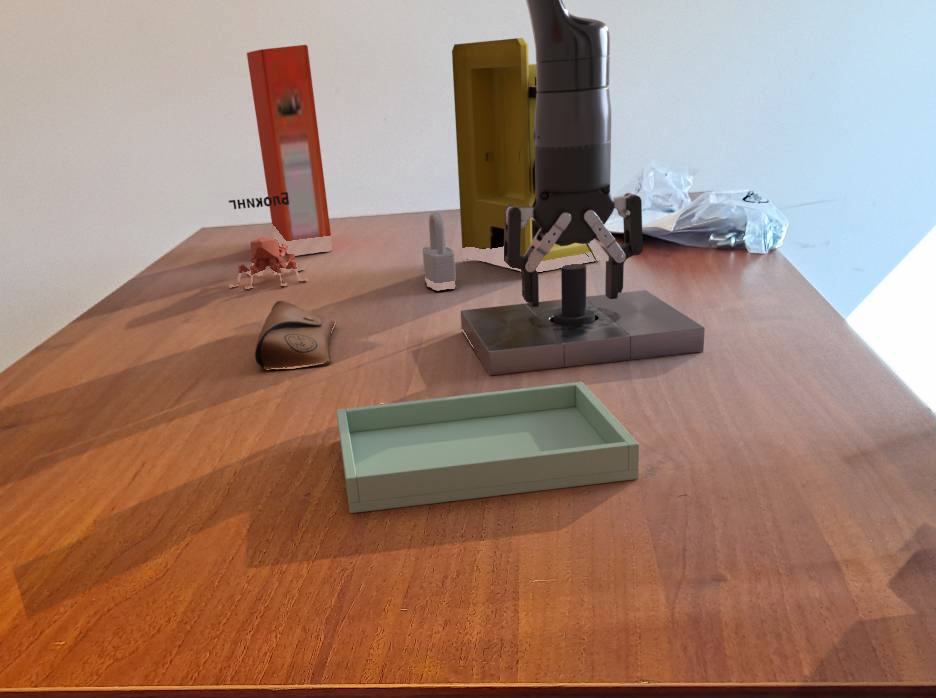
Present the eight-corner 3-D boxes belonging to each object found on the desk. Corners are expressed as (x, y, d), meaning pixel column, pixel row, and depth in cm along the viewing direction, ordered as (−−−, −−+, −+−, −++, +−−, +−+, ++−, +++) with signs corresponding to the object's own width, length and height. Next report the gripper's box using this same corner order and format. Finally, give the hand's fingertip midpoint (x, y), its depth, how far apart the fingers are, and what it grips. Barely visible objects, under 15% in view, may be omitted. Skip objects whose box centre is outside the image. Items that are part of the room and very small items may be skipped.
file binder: (286, 258, 166) (258, 49, 152) (273, 243, 181) (246, 51, 167) (332, 251, 168) (309, 44, 153) (315, 237, 183) (292, 47, 168)
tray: (581, 411, 86) (582, 381, 85) (638, 479, 72) (639, 443, 71) (339, 439, 85) (336, 409, 84) (349, 513, 71) (345, 478, 70)
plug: (588, 333, 108) (588, 260, 105) (599, 344, 104) (600, 268, 101) (549, 338, 108) (548, 265, 105) (559, 348, 104) (558, 272, 101)
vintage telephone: (643, 270, 134) (650, 25, 121) (559, 287, 129) (557, 34, 116) (520, 243, 160) (514, 38, 147) (446, 256, 155) (433, 46, 142)
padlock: (420, 283, 139) (415, 210, 135) (448, 279, 140) (443, 207, 135) (432, 293, 133) (426, 217, 128) (460, 289, 133) (456, 213, 129)
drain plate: (645, 311, 115) (646, 289, 114) (703, 351, 99) (705, 327, 98) (461, 331, 114) (460, 310, 113) (490, 376, 98) (488, 351, 97)
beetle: (306, 285, 144) (295, 196, 139) (224, 292, 145) (210, 204, 139) (316, 265, 158) (306, 183, 152) (241, 272, 158) (228, 190, 153)
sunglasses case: (334, 360, 105) (296, 310, 103) (283, 397, 107) (244, 349, 104) (337, 320, 121) (304, 276, 119) (293, 353, 123) (260, 310, 121)
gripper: (510, 149, 93) (514, 317, 101) (655, 135, 94) (649, 302, 101) (495, 143, 100) (500, 301, 107) (630, 130, 101) (626, 287, 108)
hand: (572, 301), depth 104 cm, fingers open, 8 cm apart
